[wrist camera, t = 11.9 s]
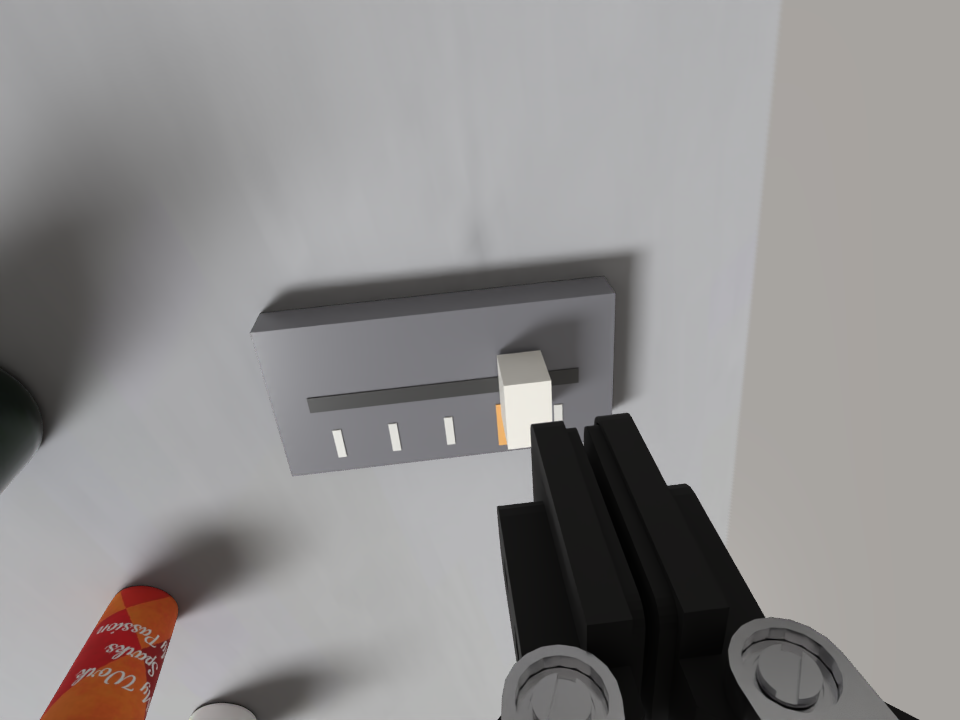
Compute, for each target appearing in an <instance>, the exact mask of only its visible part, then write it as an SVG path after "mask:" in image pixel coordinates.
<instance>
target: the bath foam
mask: <svg viewBox="0 0 960 720" xmlns="http://www.w3.org/2000/svg"><path fill="white" fill-rule="evenodd" d="M189 720H257V719H256V717H255V716H254V715H253V713H252V712H250V711H249V710H248V709H246V708H244V707H242V706H239V705H235V704H228V703H215V704H210V705H206V706H204V707H201V708H199V709H198V710H196V711H195V712H194V713H193V714H192V715H191V717H190V718H189Z"/></svg>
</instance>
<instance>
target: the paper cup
mask: <svg viewBox="0 0 960 720" xmlns="http://www.w3.org/2000/svg"><path fill="white" fill-rule="evenodd" d="M177 615H178V605H177V603H176V601H175V600H174V598H173V597H172V596H171V595H169V594H168V593H166V592H165V591H163V590H160V589H158V588H155V587H150V586H132V587H128V588H125V589H123V590H121V591H120V592H119V593H117V594H116V596H115V597H114V598H113V600H112V601H111V603H110V604H109V606H108V607H107V609H106V611H105V612H104V614H103V615H102V617H101V619H100V620H99V622H98V624H97V625H96V627H95V629H94V630H93V632H92V634H91V635H90V637H89V638H88V640H87V642H86V643H85V645H84V647H83V648H82V650H81V652H80V653H79V655H78V657H77V658H76V660H75V662H74V663H73V665H72V667H71V669H70V670H69V672H68V674H67V675H66V677H65V679H64V680H63V682H62V684H61V685H60V687H59V689H58V690H57V692H56V694H55V695H54V697H53V699H52V700H51V702H50V704H49V705H48V707H47V709H46V710H45V712H44V714H43V715H42V717H41V719H40V720H145V718H146V715H147V712H148V708H149V705H150V702H151V699H152V696H153V693H154V690H155V687H156V683H157V680H158V677H159V674H160V671H161V668H162V665H163V661H164V658H165V655H166V652H167V649H168V646H169V642H170V639H171V636H172V633H173V629H174V626H175V622H176V619H177Z"/></svg>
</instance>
